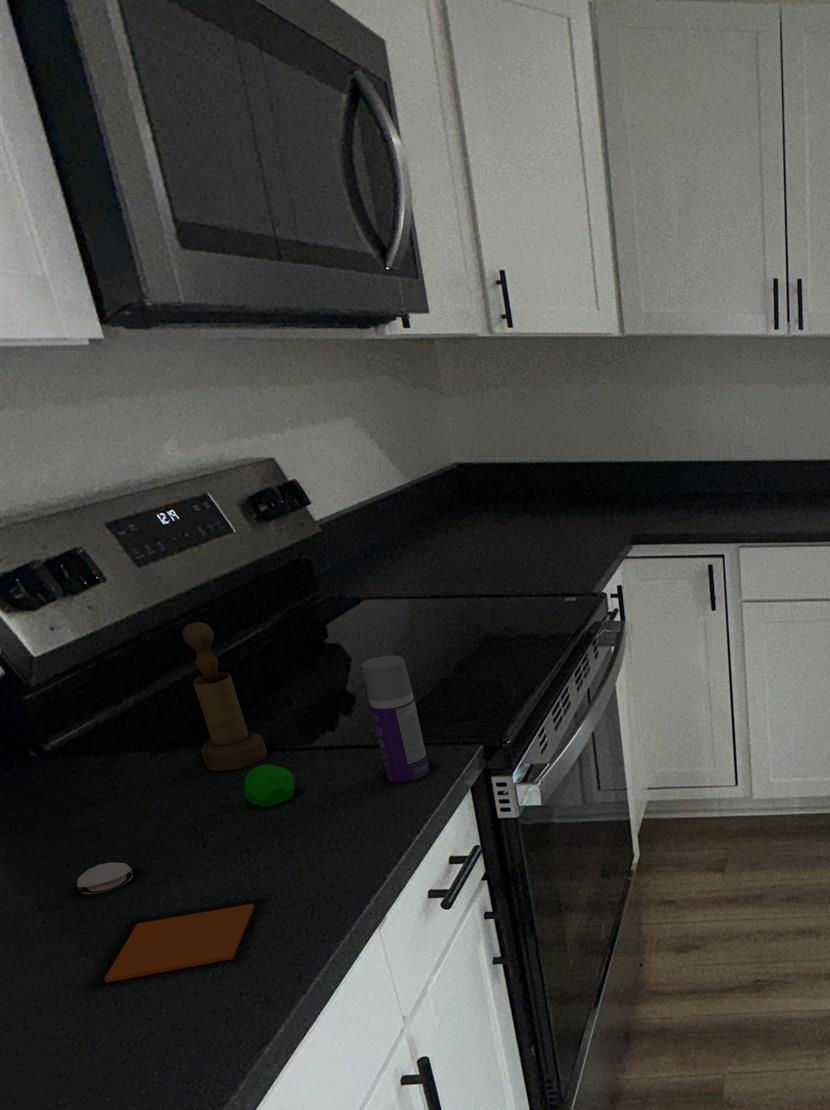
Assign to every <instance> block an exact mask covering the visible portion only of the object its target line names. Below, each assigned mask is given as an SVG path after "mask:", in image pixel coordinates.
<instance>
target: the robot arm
mask: <svg viewBox="0 0 830 1110" xmlns="http://www.w3.org/2000/svg"><path fill="white" fill-rule="evenodd" d="M1 654H2V649H1V647H0V655H1ZM5 676H6V671H5V670H4V668H3V667H2V666H1V665H0V681H1V680H3V678H5Z"/></svg>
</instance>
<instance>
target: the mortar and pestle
mask: <svg viewBox="0 0 830 1110" xmlns="http://www.w3.org/2000/svg"><path fill="white" fill-rule="evenodd" d="M182 638H183V640H184V643H186V644H187V645H188V646H189V647H190V648H192V650H194V651H195V654H196V659H195V660H194V664H195V666H196V668H197V669H198V671H199V672H200V674H201V675H200V676H198V677H196V678H195V679H193V680H192V683H193V687H194V690H195V693H196V696H197V699H198V701H199V705H200V708H201V711H202V715H203V718H204V720H205V724H206V727H207V731H208V734H209V737H210V739H208V740H207V741H206V742H205V744H204V745H202V748H201V750H200V751H201V755H202V759H203V761H204V765H205V767H206V769H208V770H210V771H214V772H228V771H234V770H241V769H245V768H248V767H251V766H254V765H256V764H258V763H260V762H262V761H264V759H265V758H266V757H267V756H268V750H267V747H266V743H265V741H264V738H263V736H261V735H260V734H257V733H255V732H253V731H249V730H248V728H247V725H246V722H245V719H244V716H243V711H242V709H241V706H240V703H239V698H238V695H237V693H236V689H235V685H234V682H233V679H232V676H231V674H230V673H229V672H224V671H221V672H220V671H219V660H218V657H217V656H214V655H213V654H212V652H211V648H212V645H213V642H214V638H215V634H214V631H213V629H212V627H211V626H209V624H207V623H206V622H203V621H202V622H201V621H195V622H191V623H189V624H187V625H185V627H184V628H183V629H182Z"/></svg>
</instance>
